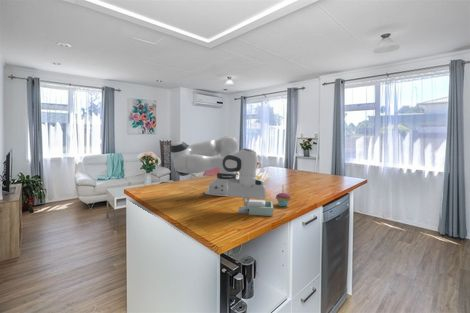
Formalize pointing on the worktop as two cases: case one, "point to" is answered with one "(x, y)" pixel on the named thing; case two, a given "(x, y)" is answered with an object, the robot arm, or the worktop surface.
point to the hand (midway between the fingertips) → (245, 205)
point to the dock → (258, 209)
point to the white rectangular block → (256, 203)
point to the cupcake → (283, 198)
